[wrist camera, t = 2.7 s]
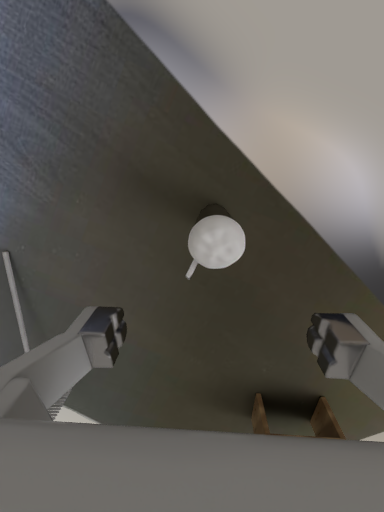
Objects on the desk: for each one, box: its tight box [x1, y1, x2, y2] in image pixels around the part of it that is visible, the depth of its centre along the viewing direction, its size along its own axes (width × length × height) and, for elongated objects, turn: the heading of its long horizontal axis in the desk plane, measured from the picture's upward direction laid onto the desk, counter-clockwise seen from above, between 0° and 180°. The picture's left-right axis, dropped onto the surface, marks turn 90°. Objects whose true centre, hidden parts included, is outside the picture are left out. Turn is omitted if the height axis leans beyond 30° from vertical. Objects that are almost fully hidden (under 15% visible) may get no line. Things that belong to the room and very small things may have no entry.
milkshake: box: [185, 203, 245, 280], centre depth 19 cm, size 5×5×10 cm
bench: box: [251, 393, 346, 440], centre depth 34 cm, size 12×8×9 cm, turn 91°
